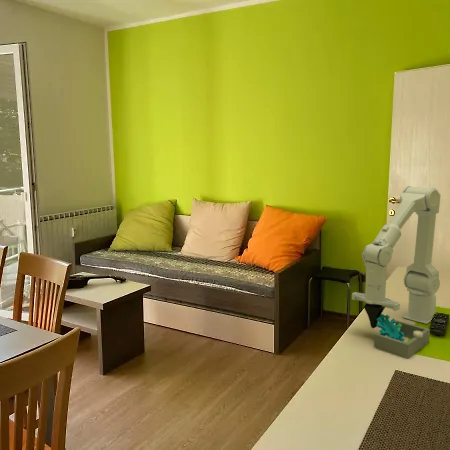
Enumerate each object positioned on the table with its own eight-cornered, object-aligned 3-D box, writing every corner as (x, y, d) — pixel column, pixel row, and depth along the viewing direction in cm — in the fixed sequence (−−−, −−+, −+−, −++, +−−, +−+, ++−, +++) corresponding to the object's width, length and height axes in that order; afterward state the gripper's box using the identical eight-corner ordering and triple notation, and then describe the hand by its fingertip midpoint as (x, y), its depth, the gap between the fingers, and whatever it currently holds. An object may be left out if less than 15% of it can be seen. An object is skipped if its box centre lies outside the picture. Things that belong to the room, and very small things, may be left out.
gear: (393, 346, 127) (374, 315, 131) (378, 355, 130) (360, 324, 135) (413, 340, 134) (394, 310, 138) (398, 349, 137) (380, 319, 142)
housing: (396, 332, 140) (397, 316, 139) (431, 342, 132) (432, 326, 131) (373, 347, 130) (374, 330, 129) (410, 359, 123) (411, 341, 122)
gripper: (346, 282, 137) (345, 324, 140) (392, 292, 127) (390, 338, 129) (359, 276, 142) (357, 317, 144) (404, 286, 132) (401, 330, 134)
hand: (374, 326), depth 137 cm, fingers closed
